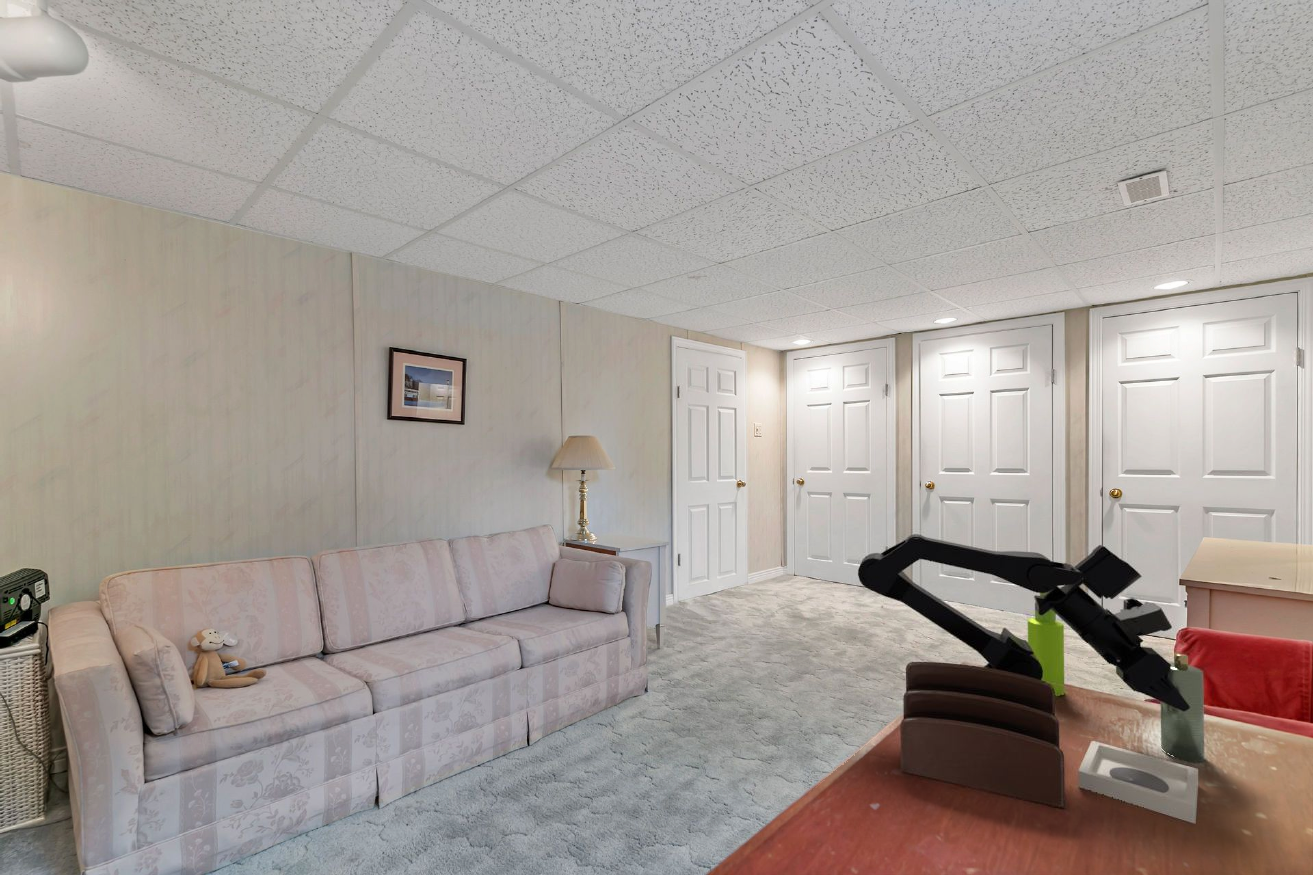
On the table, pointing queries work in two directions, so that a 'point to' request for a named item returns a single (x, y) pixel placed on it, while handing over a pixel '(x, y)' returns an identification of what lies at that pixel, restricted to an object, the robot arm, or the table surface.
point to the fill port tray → (1140, 780)
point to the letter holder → (983, 731)
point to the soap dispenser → (1048, 647)
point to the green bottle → (1184, 714)
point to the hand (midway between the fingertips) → (1174, 697)
